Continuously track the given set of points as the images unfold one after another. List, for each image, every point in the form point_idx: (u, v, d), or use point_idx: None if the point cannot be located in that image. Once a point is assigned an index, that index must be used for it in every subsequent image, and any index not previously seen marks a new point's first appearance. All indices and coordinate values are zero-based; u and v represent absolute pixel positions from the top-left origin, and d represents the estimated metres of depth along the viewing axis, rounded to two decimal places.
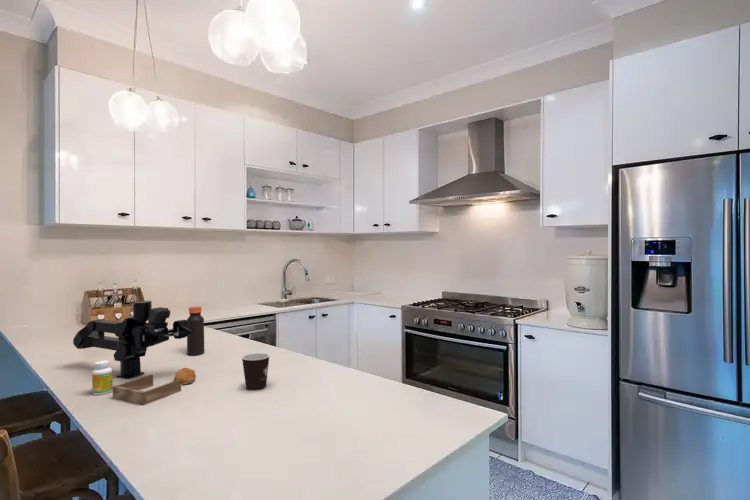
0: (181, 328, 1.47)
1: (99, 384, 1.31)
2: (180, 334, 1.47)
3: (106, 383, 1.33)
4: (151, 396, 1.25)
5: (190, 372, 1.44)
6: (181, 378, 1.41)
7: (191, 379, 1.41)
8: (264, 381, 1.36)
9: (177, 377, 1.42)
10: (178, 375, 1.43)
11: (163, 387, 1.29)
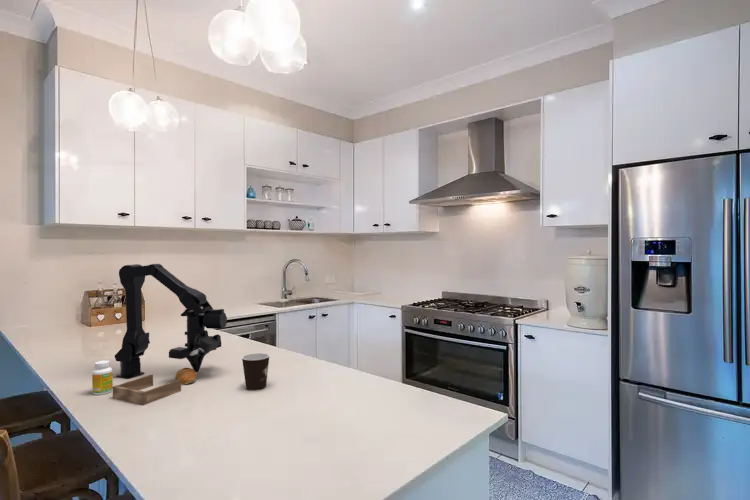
0: (199, 357, 1.49)
1: (99, 384, 1.31)
2: None
3: (106, 383, 1.33)
4: (151, 396, 1.25)
5: (191, 372, 1.45)
6: (183, 378, 1.41)
7: (193, 379, 1.42)
8: (264, 381, 1.36)
9: (178, 377, 1.42)
10: (179, 375, 1.43)
11: (163, 387, 1.29)
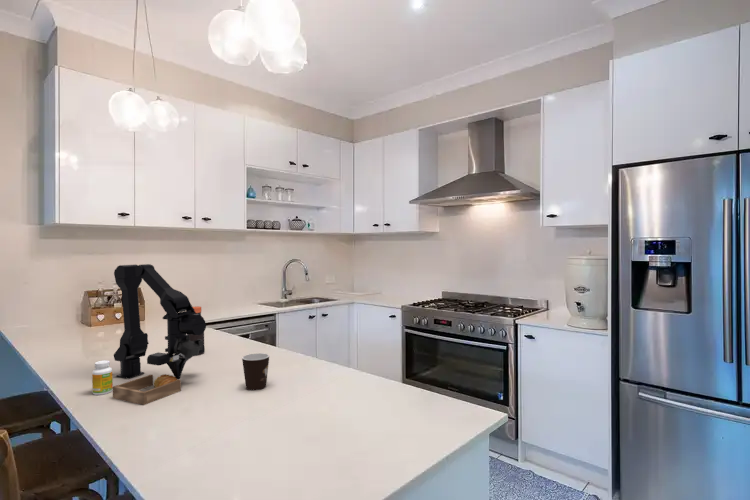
0: (180, 363, 1.42)
1: (99, 384, 1.31)
2: None
3: (106, 383, 1.33)
4: (151, 396, 1.25)
5: (173, 378, 1.38)
6: None
7: None
8: (264, 381, 1.36)
9: (159, 384, 1.35)
10: (160, 382, 1.36)
11: (163, 387, 1.29)
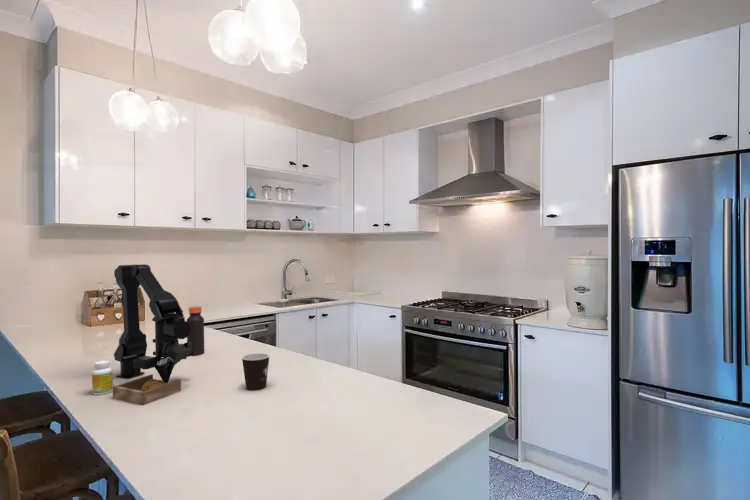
0: (169, 366, 1.38)
1: (99, 384, 1.31)
2: None
3: (106, 383, 1.33)
4: (151, 396, 1.25)
5: (162, 382, 1.34)
6: None
7: None
8: (264, 381, 1.36)
9: (149, 389, 1.31)
10: (150, 387, 1.31)
11: (163, 387, 1.29)
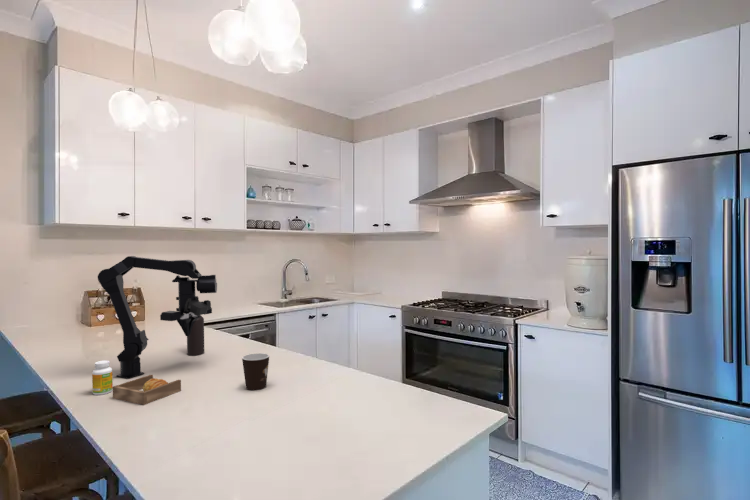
0: (190, 321, 1.55)
1: (99, 384, 1.31)
2: None
3: (106, 383, 1.33)
4: (151, 396, 1.25)
5: (164, 381, 1.35)
6: None
7: None
8: (264, 381, 1.36)
9: (151, 388, 1.31)
10: (152, 386, 1.32)
11: (163, 387, 1.29)
